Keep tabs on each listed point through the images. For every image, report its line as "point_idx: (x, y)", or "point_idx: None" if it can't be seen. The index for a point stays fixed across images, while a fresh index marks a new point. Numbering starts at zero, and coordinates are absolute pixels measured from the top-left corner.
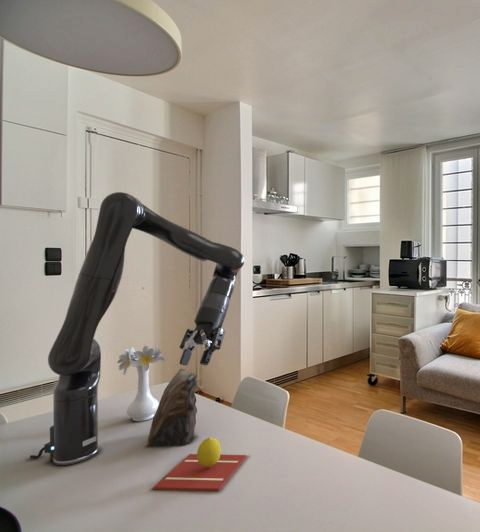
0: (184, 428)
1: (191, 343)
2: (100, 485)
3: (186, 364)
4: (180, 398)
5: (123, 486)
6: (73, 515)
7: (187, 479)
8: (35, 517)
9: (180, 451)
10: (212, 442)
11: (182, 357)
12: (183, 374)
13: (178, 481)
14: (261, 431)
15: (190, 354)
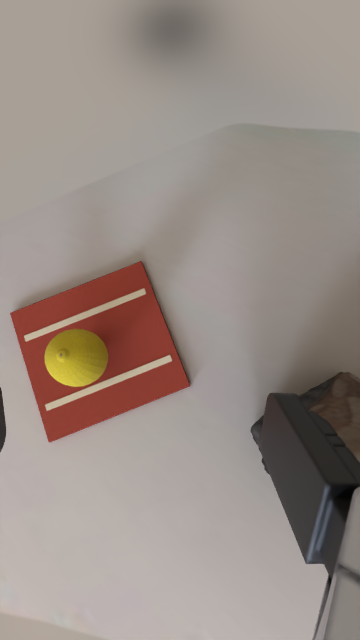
0: (259, 422)
1: (323, 627)
2: (256, 227)
3: (264, 443)
4: None
5: (209, 245)
6: (200, 162)
7: (96, 306)
8: (254, 134)
9: (234, 392)
10: (48, 352)
11: (297, 422)
12: None
13: (109, 295)
14: (114, 588)
15: (299, 531)
